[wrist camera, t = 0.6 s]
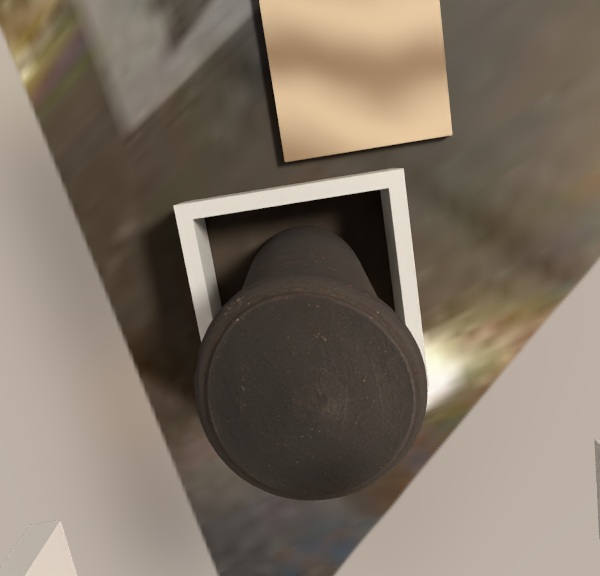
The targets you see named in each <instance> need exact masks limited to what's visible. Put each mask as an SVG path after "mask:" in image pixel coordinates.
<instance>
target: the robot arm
mask: <svg viewBox="0 0 600 576" xmlns="http://www.w3.org/2000/svg"><path fill="white" fill-rule="evenodd" d="M595 456H596V476H597V477H596V478H597V498H598V519H599V538H600V439H595ZM0 576H77V573H76V570H75V566H74V563H73V560H72V556H71V553H70V550H69V546H68V543H67V540H66V536H65V533H64V530H63V527H62V523H61V520H58V521H51V522H45V523H38V524H31V525H30V526H29V527H28V529H27V530H26V532H25V533H24V534H23V536H22V537H21V539H20V540H19V541H18V543H17V544H16V545H15V547H14V548H13V550H12V551H11V552H10V554H9V555H8V557H7V558H6V559H5V561H4V562H3V563H2V565H1V566H0Z"/></svg>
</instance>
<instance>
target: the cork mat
mask: <svg viewBox="0 0 600 576" xmlns="http://www.w3.org/2000/svg"><path fill="white" fill-rule="evenodd" d="M259 3H260V10H261V16H262V22H263V28H264V35H265V41H266V47H267V53H268V60H269V66H270V72H271V78H272V85H273V91H274V97H275V103H276V110H277V116H278V122H279V128H280V135H281V141H282V147H283V153H284V160H285V162H290V161H296V160H302V159H308V158H314V157H321V156H327V155H333V154H339V153H345V152H351V151H358V150H364V149H370V148H376V147H382V146H388V145H395V144H401V143H407V142H413V141H419V140H425V139H432V138H438V137H444V136H450V135H452V126H451V115H450V105H449V95H448V85H447V74H446V64H445V54H444V43H443V33H442V23H441V12H440V2H439V0H259Z"/></svg>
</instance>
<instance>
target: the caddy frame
mask: <svg viewBox="0 0 600 576" xmlns="http://www.w3.org/2000/svg"><path fill="white" fill-rule="evenodd" d="M379 189H380V194H381V202H382V210H383V218H384V226H385V234H386V242H387V250H388V258H389V265H390V273H391V281H392V289H393V297H394V305H395V313H396V314H397V315H398V316H399V317H400V318H401V319H402V321H403V322H404V323H405V325H406V326H407V327H408V329H409V330H410V332H411V333H412V335H413V337H414V339H415V341H416V343H417V344H418V346H419V349H420V351H421V354H422V357H423V361H424V364H425V369H426V376H427V386H429V384H428V375H427V367H426V358H425V349H424V341H423V332H422V324H421V315H420V306H419V298H418V289H417V281H416V272H415V263H414V255H413V246H412V238H411V229H410V220H409V212H408V203H407V195H406V186H405V177H404V169H403V168H391V169H385V170H378V171H372V172H366V173H360V174H353V175H347V176H341V177H335V178H329V179H322V180H316V181H310V182H304V183H298V184H291V185H285V186H279V187H273V188H266V189H260V190H254V191H248V192H242V193H235V194H229V195H223V196H217V197H211V198H204V199H198V200H192V201H186V202H183V203H180V204H177V205H173V206H174V211H175V216H176V221H177V226H178V231H179V236H180V241H181V246H182V250H183V255H184V260H185V265H186V270H187V275H188V280H189V285H190V290H191V294H192V299H193V304H194V309H195V314H196V319H197V324H198V329H199V334H200V339H201V342H202V340H203V337H204V335H205V333H206V330H207V328H208V327H209V325H210V323H211V321H212V320H213V319H214V317H215V316H216V314H217V313H218V312H219V310H220V309H221V308H222V306H221V301H220V296H219V291H218V286H217V280H216V275H215V270H214V265H213V260H212V255H211V249H210V244H209V239H208V234H207V229H206V224H205V218H204V217H210V216H217V215H223V214H229V213H235V212H242V211H248V210H254V209H260V208H267V207H273V206H279V205H285V204H292V203H298V202H304V201H311V200H317V199H323V198H329V197H336V196H342V195H348V194H354V193H361V192H367V191H373V190H379Z"/></svg>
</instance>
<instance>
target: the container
mask: <svg viewBox="0 0 600 576" xmlns="http://www.w3.org/2000/svg"><path fill="white" fill-rule="evenodd" d="M194 391H195V400H196V406H197V411H198V415H199V418H200V421H201V424H202V427H203V429H204V432H205V434H206V436H207V438H208V440H209V442H210V443H211V445H212V447H213V448H214V450H215V451H216V453H217V454H218V455H219V457H220V458H221V459H222V460H223V461H224V462H225V464H226V465H227V466H228V467H229V468H230V469H231V470H232V471H234V472H235V473H236V474H237V475H238V476H240V477H241V478H242V479H244V480H245V481H247V482H248V483H250V484H252V485H253V486H255V487H257V488H260V489H262V490H264V491H266V492H268V493H271V494H273V495H277V496H280V497H284V498H289V499H296V500H326V499H333V498H338V497H342V496H346V495H349V494H352V493H354V492H357V491H360V490H362V489H364V488H366V487H368V486H370V485H372V484H373V483H375V482H377V481H378V480H380V479H381V478H382V477H384V476H385V475H386V474H387V473H389V472H390V471H391V470H392V469H393V468H394V467H395V466H396V465H397V464H398V463H399V462H400V461H401V460H402V459H403V457H404V456H405V455H406V454H407V452H408V451H409V449H410V448H411V447H412V445H413V443H414V441H415V439H416V437H417V435H418V433H419V431H420V429H421V426H422V423H423V420H424V416H425V411H426V405H427V376H426V369H425V364H424V361H423V357H422V354H421V351H420V349H419V346H418V344H417V343H416V341H415V339H414V337H413V335H412V333H411V332H410V330H409V329H408V327H407V326H406V325H405V323H404V322H403V321H402V319H401V318H400V317H399V316H398V315H397V314H396V313H395V312H394V311H393V310H392V309H391V308H390V307H389V306H388V305H387V304H386V303H384V302H383V301H382V300H381V299H379V298H378V297H377V295H376V293H375V291H374V289H373V287H372V285H371V283H370V281H369V279H368V277H367V275H366V273H365V271H364V269H363V267H362V265H361V263H360V261H359V259H358V257H357V256H356V254H355V253H354V251H353V250H352V249H351V247H350V246H349V245H348V244H347V243H346V242H345V241H344V240H343V239H341V238H340V237H339V236H337V235H335V234H334V233H332V232H330V231H328V230H325V229H322V228H318V227H313V226H301V227H294V228H290V229H287V230H284V231H282V232H280V233H278V234H277V235H275V236H274V237H272V238H271V239H270V240H268V241H267V242H266V243H265V244H264V245H263V246H262V248H261V249H260V250H259V251H258V253H257V254H256V256H255V258H254V260H253V262H252V264H251V266H250V269H249V271H248V274H247V277H246V280H245V282H244V285H243V287H242V290H241V291H239V292H238V293H237V294H236V295H234V296H233V297H232V298H231V299H230V300H229V301H228V302H227V303H226V304H225V305H224V306H223V307H222V308H221V309H220V310H219V312H218V313H217V314H216V316H215V317H214V319H213V320H212V321H211V323H210V325H209V327H208V328H207V330H206V333H205V335H204V337H203V340H202V342H201V345H200V348H199V354H198V365H197V368H196V370H195V376H194Z"/></svg>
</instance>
